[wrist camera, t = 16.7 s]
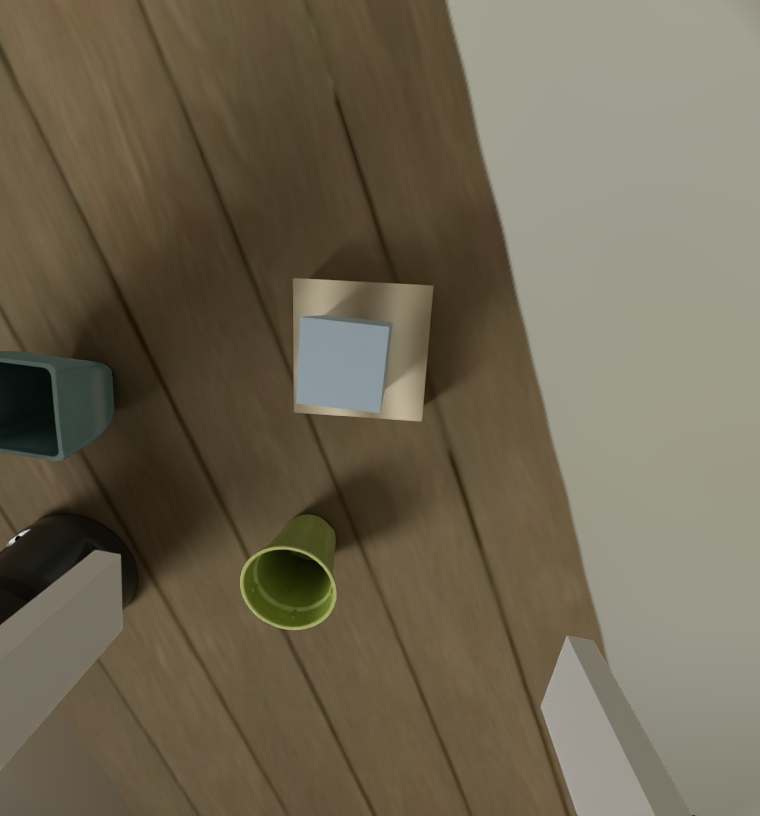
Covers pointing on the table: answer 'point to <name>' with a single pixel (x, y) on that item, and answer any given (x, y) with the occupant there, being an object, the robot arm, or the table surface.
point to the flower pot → (52, 404)
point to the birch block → (380, 304)
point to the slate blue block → (343, 362)
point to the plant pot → (293, 575)
